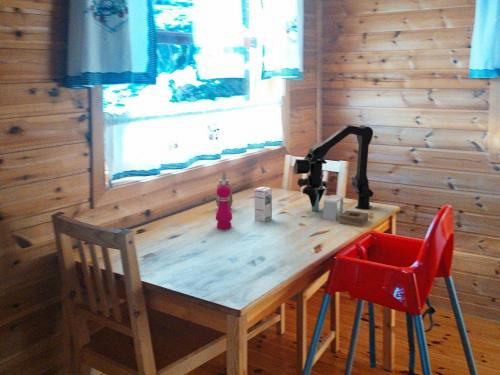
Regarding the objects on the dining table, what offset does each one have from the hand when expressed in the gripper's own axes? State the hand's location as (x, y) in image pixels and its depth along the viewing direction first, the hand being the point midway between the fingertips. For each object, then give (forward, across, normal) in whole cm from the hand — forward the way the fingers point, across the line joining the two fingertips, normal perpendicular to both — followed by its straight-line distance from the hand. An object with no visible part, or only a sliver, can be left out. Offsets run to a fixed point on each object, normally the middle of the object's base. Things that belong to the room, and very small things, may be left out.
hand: (315, 205), depth 265 cm
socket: (+3, +10, +22) cm, 24 cm away
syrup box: (+3, +24, -16) cm, 29 cm away
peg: (+3, 0, 0) cm, 3 cm away
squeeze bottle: (+3, +16, -40) cm, 44 cm away
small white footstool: (+3, +6, +11) cm, 13 cm away
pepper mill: (+3, +42, -26) cm, 50 cm away
